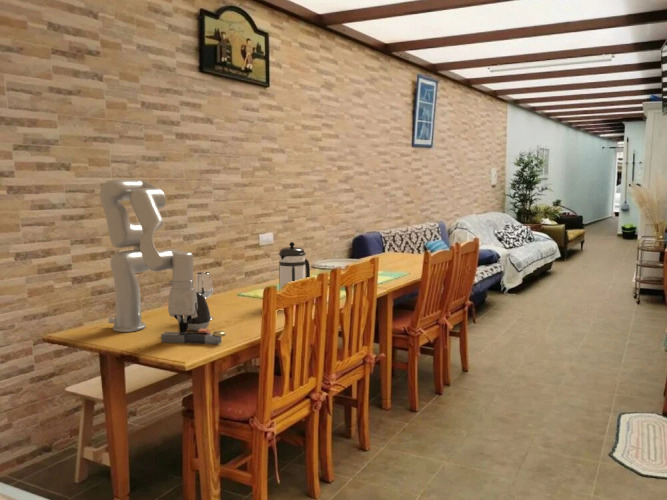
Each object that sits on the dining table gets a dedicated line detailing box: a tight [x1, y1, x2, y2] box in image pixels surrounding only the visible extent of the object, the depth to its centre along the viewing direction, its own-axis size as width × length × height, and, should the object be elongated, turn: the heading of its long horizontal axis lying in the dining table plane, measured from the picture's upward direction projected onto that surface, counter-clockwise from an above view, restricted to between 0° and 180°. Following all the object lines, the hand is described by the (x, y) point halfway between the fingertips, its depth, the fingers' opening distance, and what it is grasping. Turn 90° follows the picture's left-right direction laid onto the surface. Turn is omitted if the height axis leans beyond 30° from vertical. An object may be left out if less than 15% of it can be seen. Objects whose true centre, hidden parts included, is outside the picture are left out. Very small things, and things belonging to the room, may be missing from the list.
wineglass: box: [194, 271, 215, 321], centre depth 246 cm, size 8×8×20 cm
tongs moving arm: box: [160, 332, 221, 346], centre depth 211 cm, size 22×2×3 cm, turn 81°
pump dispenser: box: [188, 292, 211, 332], centre depth 229 cm, size 10×10×15 cm
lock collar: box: [197, 328, 211, 334], centre depth 215 cm, size 3×4×4 cm
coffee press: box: [278, 241, 311, 290], centre depth 274 cm, size 17×16×30 cm
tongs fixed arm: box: [163, 330, 227, 344], centre depth 212 cm, size 24×4×4 cm, turn 80°
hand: (183, 331), depth 217 cm, fingers closed
